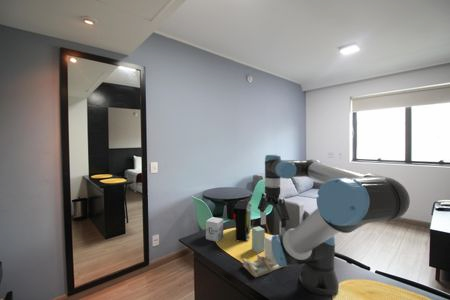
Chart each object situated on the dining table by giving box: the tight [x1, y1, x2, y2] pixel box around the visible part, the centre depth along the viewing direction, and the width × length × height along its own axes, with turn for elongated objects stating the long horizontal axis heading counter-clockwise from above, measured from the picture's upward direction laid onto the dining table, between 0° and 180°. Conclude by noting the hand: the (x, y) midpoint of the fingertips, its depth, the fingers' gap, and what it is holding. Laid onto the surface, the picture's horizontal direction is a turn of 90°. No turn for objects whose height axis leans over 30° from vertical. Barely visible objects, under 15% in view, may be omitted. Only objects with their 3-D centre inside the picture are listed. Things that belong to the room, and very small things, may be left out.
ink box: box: [205, 216, 224, 243], centre depth 131 cm, size 8×8×12 cm
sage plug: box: [251, 226, 266, 254], centre depth 117 cm, size 5×5×12 cm
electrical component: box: [232, 200, 253, 242], centre depth 136 cm, size 18×10×20 cm, turn 168°
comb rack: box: [242, 253, 285, 278], centre depth 101 cm, size 10×19×4 cm, turn 119°
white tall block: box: [264, 234, 277, 265], centre depth 103 cm, size 5×5×12 cm
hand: (272, 228), depth 103 cm, fingers open, 13 cm apart
